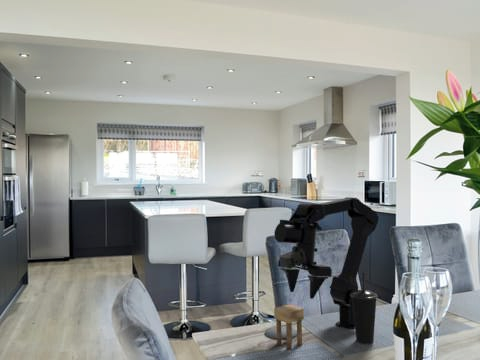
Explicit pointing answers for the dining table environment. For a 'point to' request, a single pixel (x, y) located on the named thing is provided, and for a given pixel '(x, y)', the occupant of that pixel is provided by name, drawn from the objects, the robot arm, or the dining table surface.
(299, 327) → the wooden stool
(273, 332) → the disc
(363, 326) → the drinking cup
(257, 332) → the dining table surface
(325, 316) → the dining table surface
